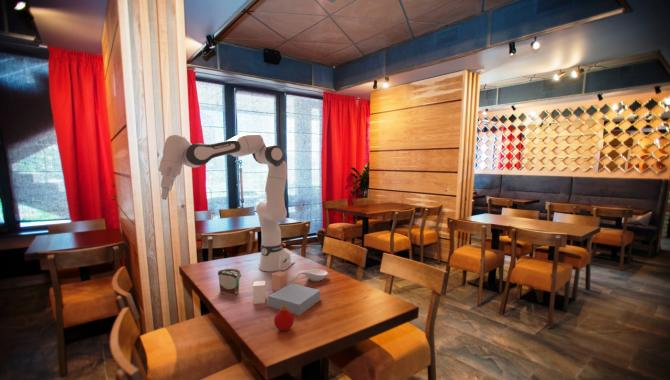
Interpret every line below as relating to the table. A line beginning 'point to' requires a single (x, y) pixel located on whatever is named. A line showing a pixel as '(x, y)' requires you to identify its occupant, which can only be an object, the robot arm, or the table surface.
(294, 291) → the slate plinth block
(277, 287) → the terracotta column
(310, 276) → the spoon rest
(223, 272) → the food container
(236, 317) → the table surface
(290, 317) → the christmas ornament
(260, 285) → the off-white column
